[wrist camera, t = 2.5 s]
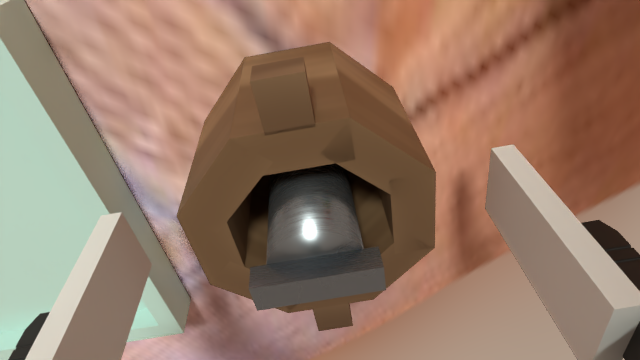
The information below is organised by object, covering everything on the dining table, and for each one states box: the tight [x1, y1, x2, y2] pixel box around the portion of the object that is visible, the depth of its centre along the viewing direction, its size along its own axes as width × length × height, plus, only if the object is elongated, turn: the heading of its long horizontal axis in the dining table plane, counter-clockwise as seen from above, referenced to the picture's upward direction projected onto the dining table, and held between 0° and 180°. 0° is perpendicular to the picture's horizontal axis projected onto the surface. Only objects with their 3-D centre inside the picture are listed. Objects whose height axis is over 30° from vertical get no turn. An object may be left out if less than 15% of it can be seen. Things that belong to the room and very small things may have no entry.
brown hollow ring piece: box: [177, 42, 436, 331], centre depth 16 cm, size 11×8×6 cm
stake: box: [249, 163, 386, 311], centre depth 15 cm, size 3×4×8 cm
